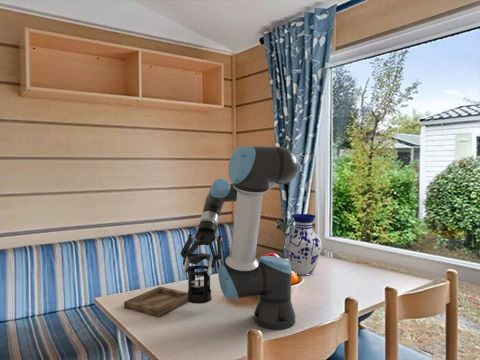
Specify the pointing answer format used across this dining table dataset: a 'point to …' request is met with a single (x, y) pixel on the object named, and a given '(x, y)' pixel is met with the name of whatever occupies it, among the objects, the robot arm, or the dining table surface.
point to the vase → (303, 245)
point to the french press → (199, 288)
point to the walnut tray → (157, 301)
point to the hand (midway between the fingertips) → (196, 273)
